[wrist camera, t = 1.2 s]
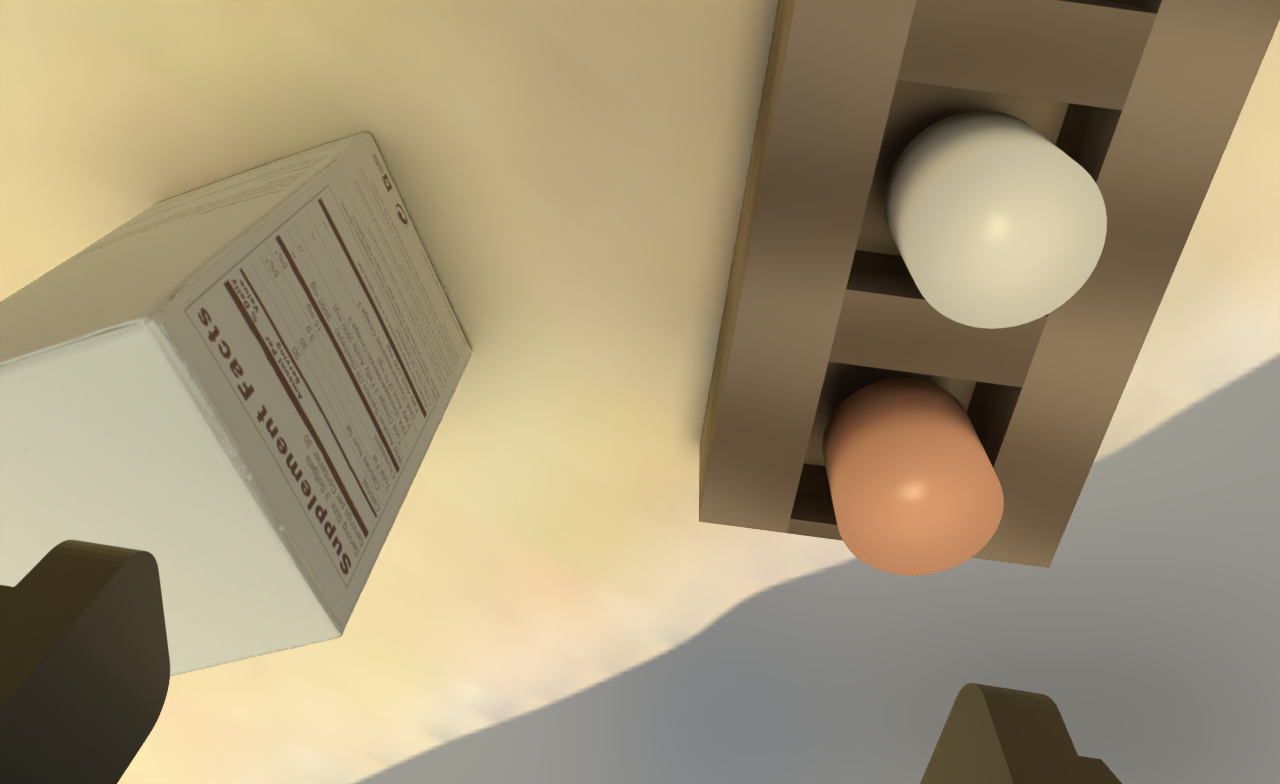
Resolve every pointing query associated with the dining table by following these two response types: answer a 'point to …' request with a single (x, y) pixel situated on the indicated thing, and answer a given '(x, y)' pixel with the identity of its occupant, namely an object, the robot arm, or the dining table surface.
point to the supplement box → (232, 398)
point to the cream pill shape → (993, 219)
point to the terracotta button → (910, 478)
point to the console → (877, 275)
